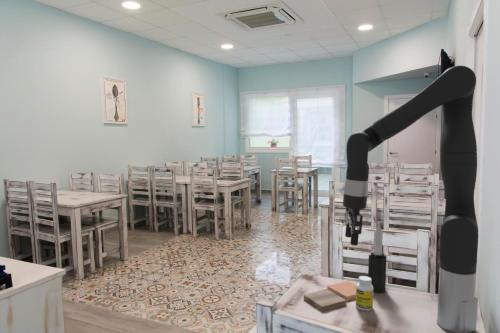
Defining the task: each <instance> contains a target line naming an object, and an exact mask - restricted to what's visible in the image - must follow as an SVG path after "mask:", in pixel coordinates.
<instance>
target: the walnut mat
mask: <svg viewBox="0 0 500 333" xmlns="http://www.w3.org/2000/svg"><path fill="white" fill-rule="evenodd" d="M303 300H305V301H306V302H307V303H309V304H311V305H312V306H314V307H315V308H317V309H318V310H320V311H321V312H326V311H329V310H332V309H336V308H338V307H339V308H340V307H342V306H346V305H347V301H346V300H345V299H343V298H342V297H340V296H338V295H336V294H335V293H333V292H331V291H329V290H328V289H327V288H326V289H321V290H318V291H314V292H309V293H304V294H303Z"/></svg>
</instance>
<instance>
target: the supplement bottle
mask: <svg viewBox="0 0 500 333" xmlns="http://www.w3.org/2000/svg"><path fill="white" fill-rule="evenodd" d="M373 306H374V292H373V286H372V285H371V278H370V277H368V275H367V276H366V275H359V277H358V283H356V298H355V307H356V308H357V309H358V310H361V311H371V310H372V309H373Z"/></svg>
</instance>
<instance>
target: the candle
mask: <svg viewBox="0 0 500 333" xmlns="http://www.w3.org/2000/svg"><path fill="white" fill-rule="evenodd" d="M383 235H384V232H383V230H382V228H381V222H377V225H376V228H375V229H374V232H373V250H372V252H371V253H370V254H368V266H367V267H368V269H367V271H368V272H367V273H368V275H367V277H370V278H371V285H372V286H373V293H376V294H379V295H380V294H383V293H384V292H385V291H386V285H387V284H386V282H387V279H386V278H387V255H385V253H383V238H384V237H383Z"/></svg>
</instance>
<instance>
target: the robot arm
mask: <svg viewBox="0 0 500 333" xmlns="http://www.w3.org/2000/svg"><path fill="white" fill-rule="evenodd" d="M476 85H477V76H476V73H475V71H474V70H473V69H472V68H470V67H469V66H465V65H455V66H451V67H448V68H447V69H446V70H445V71H444V72H443V73H442V74H441V75H439V76H438V77H437V78H436V79H435V80H433V82H431V83H430V84H429V85H428V86H426V87H425V88H424V89H422V90H421V91H420V92H418V93H417V94H416V95H414V96H413V97H411V98H409V99H408V100H407V101H405V102H404V103H402V104H400V105H398V106H397V107H395V108H394V109H392V110H390V111H388V112H387V113H385V114H384V115H382V116H381V117H379V118H378V119H376V120H375V121H374V122H373V124H372V125H370V126H368V127H367V128H365V129H363V130H362V131H360V132H359V131H358V132H354V133H351V135H349V137H348V139H347V142H346V148H345V150H346V151H345V152H346V164H347V166H346V175H345V181H344V182H345V183H344V188H343V198H342V206H343V207H344V208H345V214H344V215H345V216H344V220H343V221H344V225H345V233H344V236H345V237H346V238H350V242H349V243H350V245H351V246H356V247H357V246H358V244H359V236H360V235H361V234H362V232H363V230H362V228H363V220H364V219H363V218H364V217H363V215H362V214H361V213H360V212H361V210H365V209H367V206H368V205H367V203H368V193H369V176H370V174H369V173H370V166H369V165H370V164H369V163H368V162H369V159H368V158H369V152H371V151H372V150H374V149H375V148H377V147H378V146H380V145H381V144H383V143H384V142H385V141H387V140H389V139H391V138H393V137H395V136H397V135H398V134H399V133H401V132H403V131H404V130H406V129H407V128H410V127H411V126H412V125H413V124H414V123H416V122H417V121H418V120H420V119H421V118H423V117H424V116H425V115H427V114H429V113H430V112H432V111H433V110H436V109H437V108H439V107H440V106H442V113H443V120H442V121H443V123H442V129H441V137H440V146H439V147H440V148H439V150H440V152H439V153H440V154H439V156H440V157H439V158H440V162H439V163H440V171H441V172H440V173H441V180H442V185H443V188H444V194H445V195H444V196H445V203H444V204H445V207H444V216H443V222H442V224H441V227H440V236H439V239H440V240H439V272H438V273H439V274H438V276H439V277H438V292H437V313H436V314H437V315H436V323H437V324H438V326H439V327H441V328H442V329H444V330H446V331H449V332H452V333H473V332H475V331H477V323H478V322H477V320H478V307H479V306H478V305H479V304H478V303H479V299H478V297H476V296H475V295H476V294H475V293H476V281H477V278H476V277H477V267H478V250H479V249H478V247H479V226H478V221H477V217H476V216H477V215H476V207H475V206H476V205H475V189H476V182H477V174H478V145H477V144H478V143H477V136H476V131H475V126H474V122H473V121H474V120H473V107H474V106H473V105H474V95H475V89H476ZM474 330H475V331H474ZM472 331H473V332H472Z"/></svg>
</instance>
